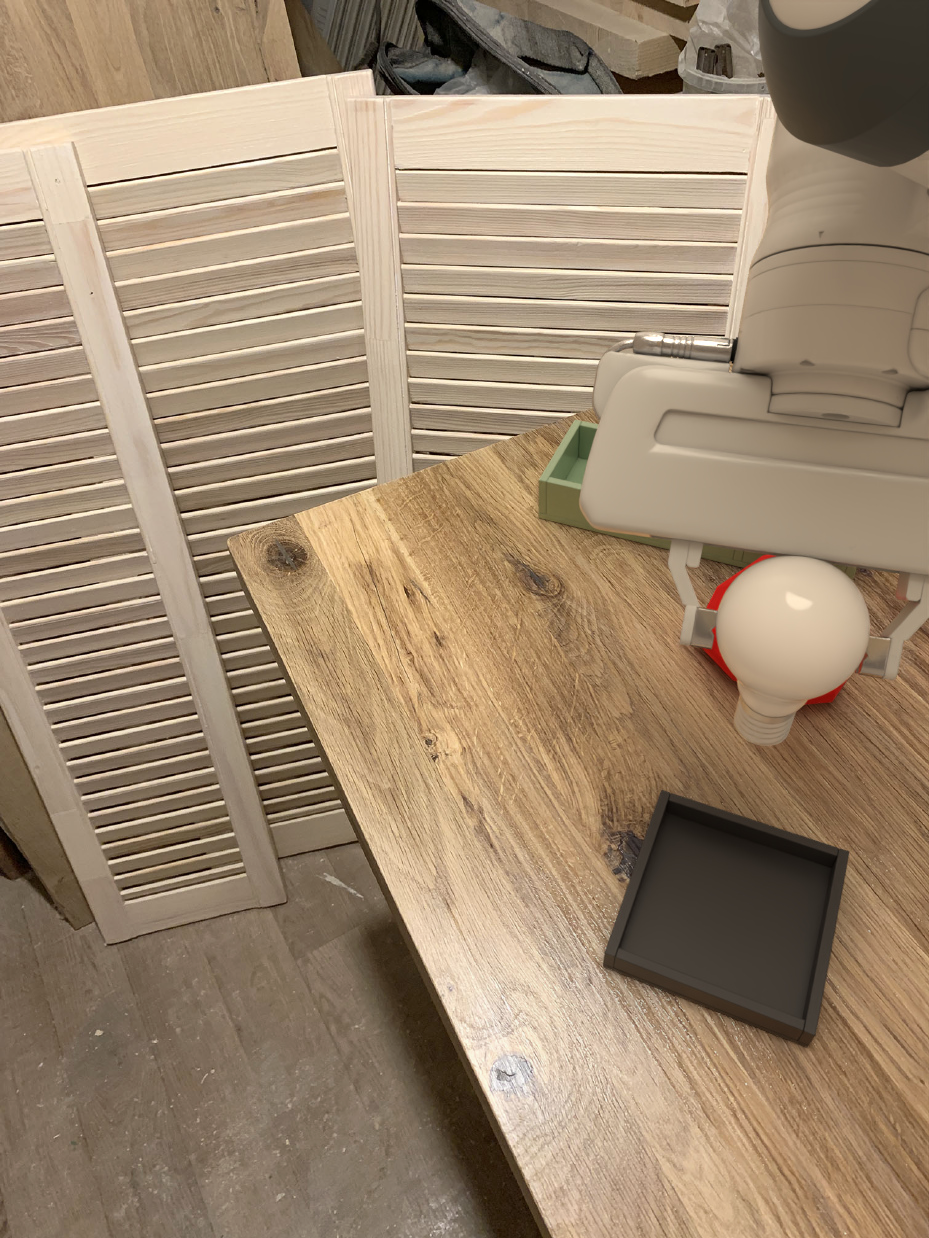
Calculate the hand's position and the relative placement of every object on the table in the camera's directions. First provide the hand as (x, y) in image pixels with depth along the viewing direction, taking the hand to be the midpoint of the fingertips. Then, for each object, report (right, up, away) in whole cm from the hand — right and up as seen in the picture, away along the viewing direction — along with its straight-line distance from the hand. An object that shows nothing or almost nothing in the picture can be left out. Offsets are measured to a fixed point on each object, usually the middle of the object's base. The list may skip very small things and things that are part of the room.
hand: (783, 661), depth 41 cm
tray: (+1, -15, +12) cm, 20 cm away
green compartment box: (+5, +10, +35) cm, 37 cm away
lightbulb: (+1, -4, +5) cm, 6 cm away
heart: (+7, 0, +26) cm, 27 cm away
